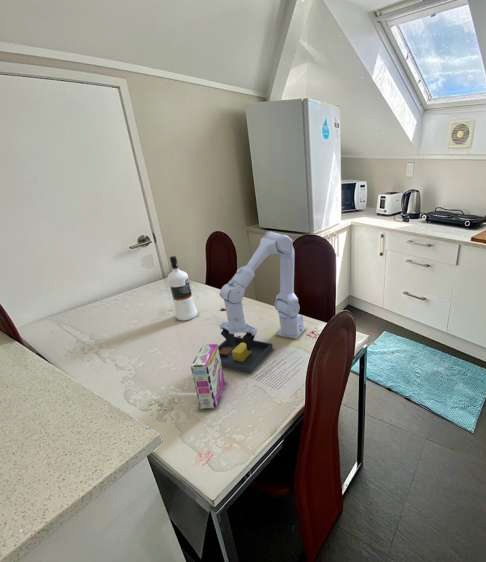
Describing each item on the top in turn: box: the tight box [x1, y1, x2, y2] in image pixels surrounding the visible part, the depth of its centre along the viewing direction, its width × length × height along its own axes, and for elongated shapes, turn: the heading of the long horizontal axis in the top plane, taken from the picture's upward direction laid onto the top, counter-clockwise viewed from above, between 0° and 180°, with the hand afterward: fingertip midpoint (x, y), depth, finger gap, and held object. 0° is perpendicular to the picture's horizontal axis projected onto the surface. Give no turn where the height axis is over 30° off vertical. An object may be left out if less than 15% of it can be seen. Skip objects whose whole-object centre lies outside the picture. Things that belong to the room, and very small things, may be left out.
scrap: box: [219, 347, 233, 357], centre depth 120 cm, size 4×4×1 cm
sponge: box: [232, 342, 252, 362], centre depth 117 cm, size 4×6×4 cm, turn 162°
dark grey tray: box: [218, 335, 273, 375], centre depth 118 cm, size 19×15×3 cm
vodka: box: [166, 255, 198, 322], centre depth 142 cm, size 9×9×30 cm
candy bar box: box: [190, 343, 226, 410], centre depth 97 cm, size 11×5×16 cm, turn 5°
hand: (241, 347), depth 117 cm, fingers open, 7 cm apart
